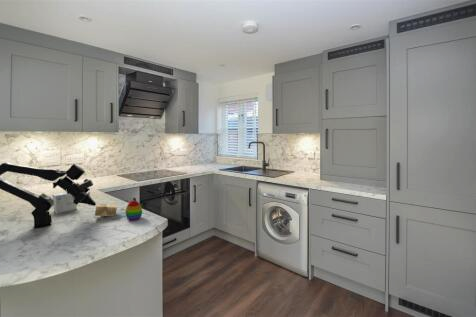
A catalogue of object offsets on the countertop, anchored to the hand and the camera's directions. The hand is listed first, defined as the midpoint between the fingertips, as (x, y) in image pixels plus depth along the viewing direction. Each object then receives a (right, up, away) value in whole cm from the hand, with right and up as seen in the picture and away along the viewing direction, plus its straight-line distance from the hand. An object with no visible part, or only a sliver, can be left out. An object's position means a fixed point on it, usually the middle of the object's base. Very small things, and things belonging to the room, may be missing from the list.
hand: (95, 204), depth 135 cm
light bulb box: (-28, -7, +16) cm, 33 cm away
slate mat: (+8, -7, +4) cm, 11 cm away
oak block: (0, -3, 0) cm, 3 cm away
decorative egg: (+22, -7, -2) cm, 23 cm away
